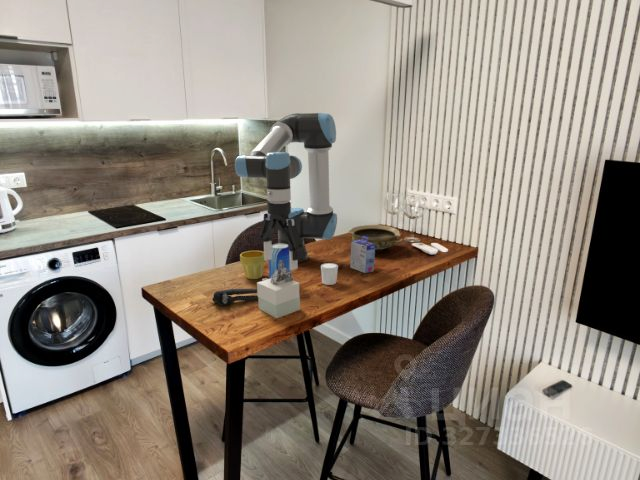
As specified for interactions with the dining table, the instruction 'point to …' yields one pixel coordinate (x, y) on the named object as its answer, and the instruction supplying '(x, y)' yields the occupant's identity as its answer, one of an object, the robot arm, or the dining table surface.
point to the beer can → (279, 258)
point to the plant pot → (253, 263)
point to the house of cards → (280, 275)
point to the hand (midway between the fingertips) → (280, 264)
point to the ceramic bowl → (376, 235)
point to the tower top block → (277, 291)
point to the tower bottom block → (279, 307)
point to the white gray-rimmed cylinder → (329, 273)
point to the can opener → (224, 299)
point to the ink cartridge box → (362, 255)
